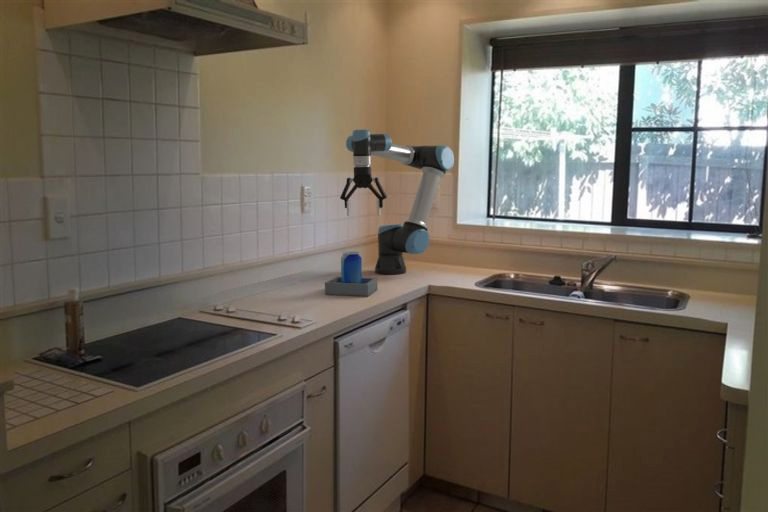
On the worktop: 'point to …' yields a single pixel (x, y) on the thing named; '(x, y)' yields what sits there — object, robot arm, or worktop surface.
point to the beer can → (351, 267)
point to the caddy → (351, 287)
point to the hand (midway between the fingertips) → (364, 215)
